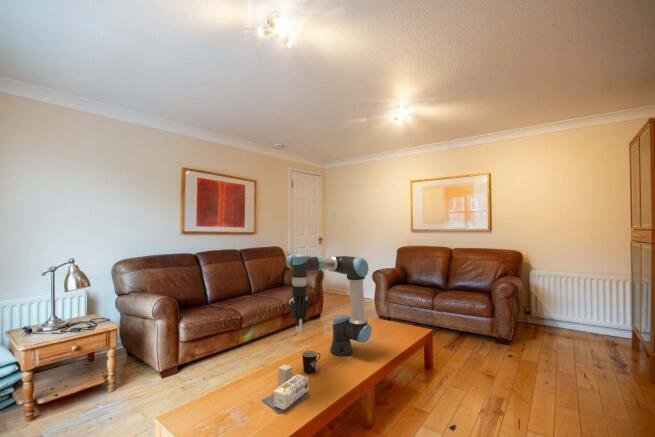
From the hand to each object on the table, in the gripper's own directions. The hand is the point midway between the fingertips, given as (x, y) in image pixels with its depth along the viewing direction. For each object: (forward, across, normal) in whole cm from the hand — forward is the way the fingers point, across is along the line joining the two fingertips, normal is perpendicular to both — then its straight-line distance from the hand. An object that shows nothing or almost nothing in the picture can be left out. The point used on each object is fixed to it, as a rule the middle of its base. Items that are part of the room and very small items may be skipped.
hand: (299, 331), depth 151 cm
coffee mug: (+31, -20, -12) cm, 38 cm away
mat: (+30, +8, 0) cm, 31 cm away
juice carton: (+26, -3, +1) cm, 26 cm away
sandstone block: (+31, 0, -11) cm, 32 cm away
